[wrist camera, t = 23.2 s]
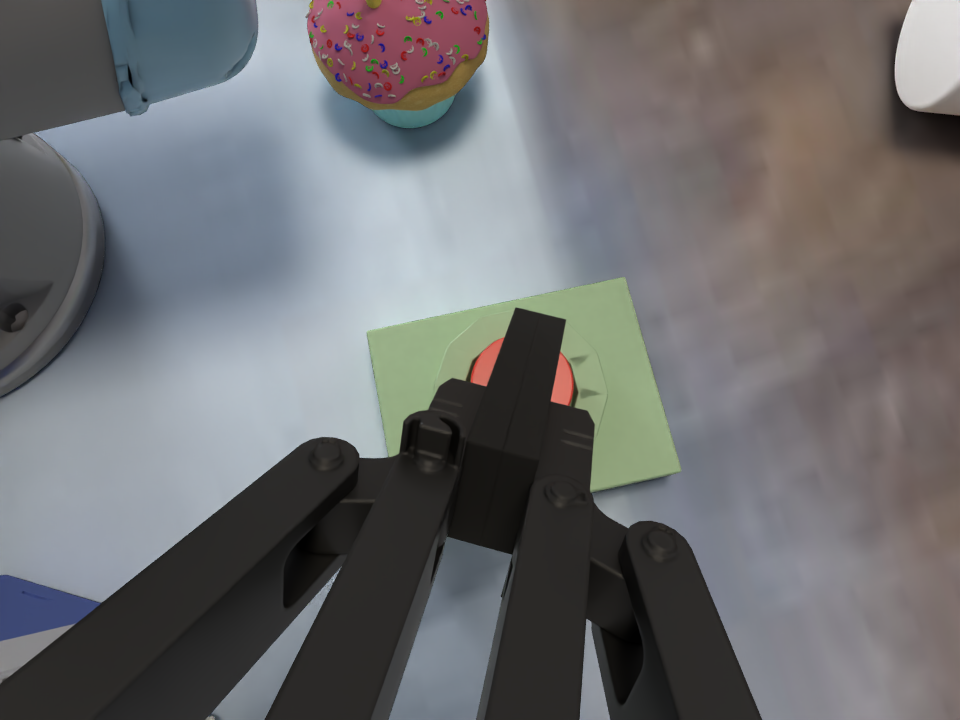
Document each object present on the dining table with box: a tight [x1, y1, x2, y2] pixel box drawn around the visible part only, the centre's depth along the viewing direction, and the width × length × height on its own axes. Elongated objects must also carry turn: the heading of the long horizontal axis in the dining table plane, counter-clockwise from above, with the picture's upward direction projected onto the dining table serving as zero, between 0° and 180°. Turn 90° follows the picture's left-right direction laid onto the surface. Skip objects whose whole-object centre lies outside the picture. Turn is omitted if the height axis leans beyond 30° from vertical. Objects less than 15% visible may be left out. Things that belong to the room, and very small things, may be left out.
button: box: [471, 337, 574, 406], centre depth 25 cm, size 4×4×2 cm
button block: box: [367, 277, 681, 493], centre depth 28 cm, size 12×9×4 cm
